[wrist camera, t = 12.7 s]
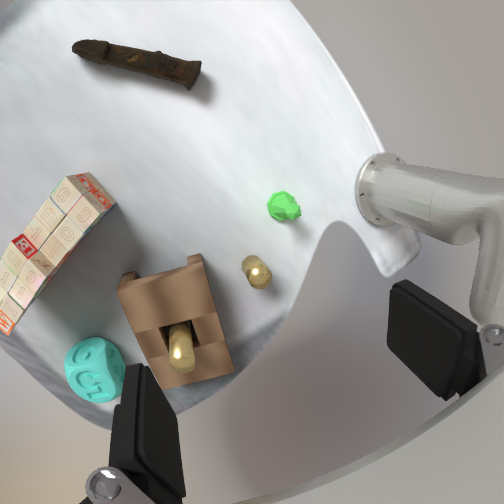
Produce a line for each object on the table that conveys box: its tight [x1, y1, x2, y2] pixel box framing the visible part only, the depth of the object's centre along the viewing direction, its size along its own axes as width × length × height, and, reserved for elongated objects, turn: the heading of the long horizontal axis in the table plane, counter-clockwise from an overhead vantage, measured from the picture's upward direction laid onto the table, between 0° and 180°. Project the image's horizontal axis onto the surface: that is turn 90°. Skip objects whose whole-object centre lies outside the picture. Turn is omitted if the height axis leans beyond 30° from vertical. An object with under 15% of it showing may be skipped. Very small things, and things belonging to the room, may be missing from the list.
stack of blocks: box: [0, 172, 116, 336], centre depth 31 cm, size 21×6×12 cm, turn 129°
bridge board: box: [116, 254, 235, 390], centre depth 42 cm, size 12×18×6 cm, turn 11°
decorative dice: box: [64, 337, 125, 403], centre depth 40 cm, size 8×8×8 cm
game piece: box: [267, 191, 301, 221], centre depth 41 cm, size 4×4×6 cm
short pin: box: [242, 256, 272, 289], centre depth 43 cm, size 3×3×5 cm
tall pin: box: [169, 320, 195, 374], centre depth 40 cm, size 3×3×12 cm
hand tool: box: [72, 39, 202, 90], centre depth 30 cm, size 19×4×5 cm, turn 67°
